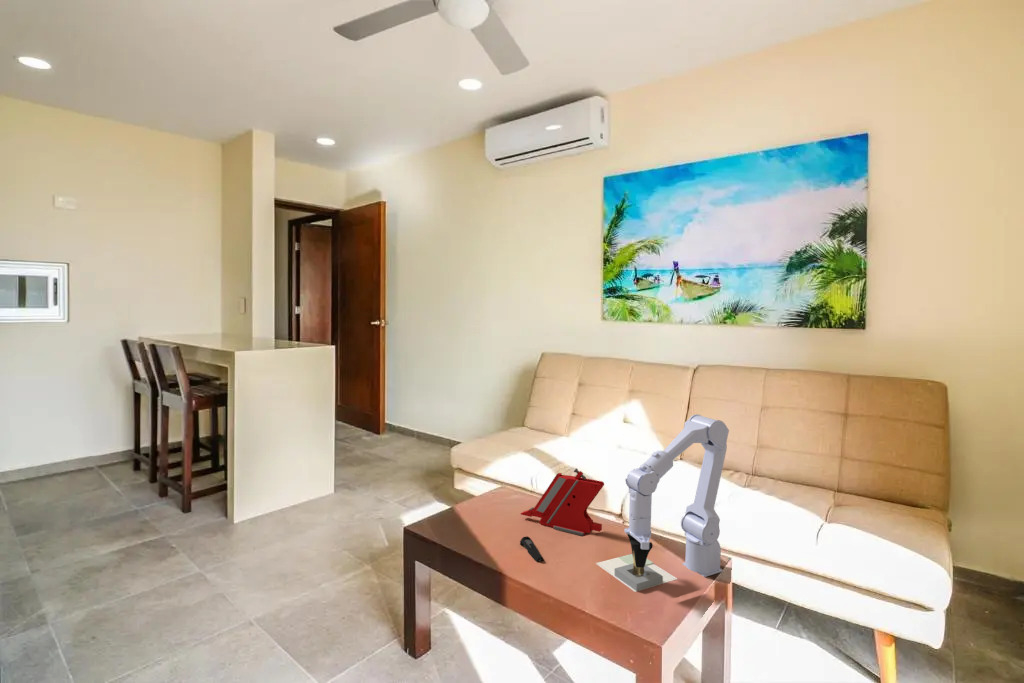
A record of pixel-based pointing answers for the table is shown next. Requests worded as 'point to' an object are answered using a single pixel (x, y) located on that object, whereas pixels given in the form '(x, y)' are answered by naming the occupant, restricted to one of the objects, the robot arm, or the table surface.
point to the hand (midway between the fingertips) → (638, 563)
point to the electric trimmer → (531, 549)
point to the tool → (568, 504)
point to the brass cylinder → (637, 569)
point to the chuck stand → (624, 573)
